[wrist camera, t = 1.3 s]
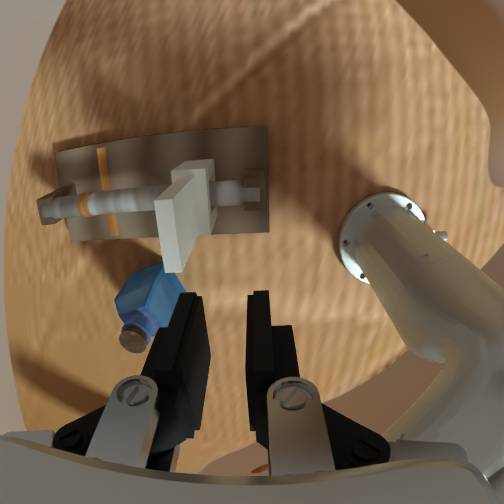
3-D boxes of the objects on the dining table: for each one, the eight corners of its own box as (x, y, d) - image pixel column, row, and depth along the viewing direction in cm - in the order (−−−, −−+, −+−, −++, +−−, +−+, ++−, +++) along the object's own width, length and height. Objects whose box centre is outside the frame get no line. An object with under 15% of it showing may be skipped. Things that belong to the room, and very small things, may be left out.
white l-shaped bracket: (213, 158, 31) (185, 190, 18) (217, 214, 34) (196, 278, 21) (185, 161, 31) (139, 193, 19) (190, 215, 34) (153, 279, 21)
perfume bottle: (166, 259, 40) (138, 312, 30) (189, 296, 43) (170, 356, 32) (130, 275, 42) (96, 327, 31) (153, 310, 44) (128, 367, 33)
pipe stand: (265, 126, 34) (269, 128, 26) (268, 226, 38) (272, 255, 31) (63, 150, 34) (25, 162, 27) (78, 236, 39) (47, 262, 31)
